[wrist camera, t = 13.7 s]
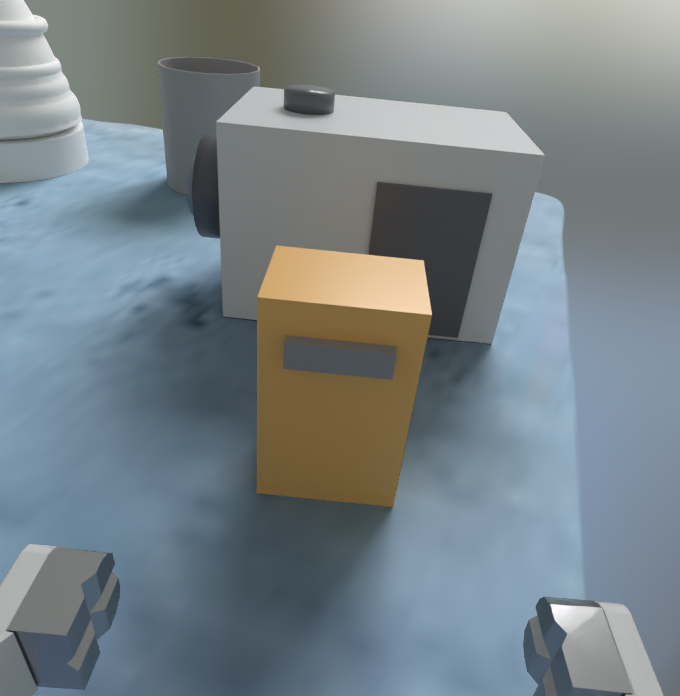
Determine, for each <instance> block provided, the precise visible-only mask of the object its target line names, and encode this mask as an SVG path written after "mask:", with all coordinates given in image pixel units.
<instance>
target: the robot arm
mask: <svg viewBox="0 0 680 696" xmlns="http://www.w3.org/2000/svg"><path fill="white" fill-rule="evenodd" d="M114 565H115V561H114V558H113V554H112V553H107V552H98V551H88V550H79V549H70V548H61V547H56V546H45V545H35V544H29V545H28V546H27V547H26V548H25V549H24V550H23V551H22V552H21V553H20V554H19V556H18V557H17V559H16V561H15V562H14V564H13V565H12V567H11V569H10V570H9V572H8V574H7V575H6V577H5V578H4V580H3V582H2V583H1V585H0V696H32V695H33V694H34V693H35V692H36V691H37V689H38V688H37V686H38V687H52V688H65V689H79V690H85V688H86V686H87V684H88V681H89V679H90V676H91V674H92V671H93V669H94V667H95V664H96V662H97V659H98V657H99V654H100V650H99V646H98V643H97V639H98V638H99V637H101V636H102V635H103V634H104V633H105V632H107V631H108V630H109V629H110V627H111V625H112V622H113V620H114V617H115V614H116V611H117V606H118V602H119V598H120V584H119V579H118V577H117V576H115V575H114V574H113V573H112V570H113V568H114ZM536 611H537V616H536V617H534V618H532V619H530V620H529V621H528V623H527V626H526V628H525V631H524V642H523V647H524V658H525V663H526V668H527V672H528V673H529V674H530V675H531V677H532V678H533V679H534V680H535V681H536V683H537V684H538V686H537V688H536V691H535V693H534V695H533V696H663V693H662V691H661V688H660V685H659V683H658V681H657V678H656V675H655V673H654V671H653V668H652V665H651V663H650V661H649V658H648V655H647V653H646V651H645V648H644V646H643V643H642V641H641V638H640V636H639V633H638V631H637V628H636V626H635V623H634V621H633V618H632V616H631V613H630V611H629V610H628V609H627V608H626V606H624V605H622V604H615V603H604V602H595V601H590V600H578V599H566V598H554V597H543V598H540V599H539V601H538V603H537V605H536Z"/></svg>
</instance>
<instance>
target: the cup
mask: <svg viewBox="0 0 680 696" xmlns="http://www.w3.org/2000/svg"><path fill="white" fill-rule="evenodd" d="M158 76H159V87H160V99H161V110H162V122H163V134H164V146H165V158H166V169H167V181H168V186H170V187H171V188H172V189H173V190H174V191H175V192H178V193H181V194H184V195H188V173H189V167H190V163H191V160H192V158H193V156H194V155H196V151H197V147H198V144H199V142H200V140H201V138H202V136H203V135H205V134H212V135H216V121H217V120H218V119H220V118H221V117H222V116H223V115H224V114H225V113H226V112H227V111H228V110H229V109H230V108H231V107H232V106H233V105H234V104H236V103H237V102H238V101H239V100H240V99H241V98H242V97H243V96H244V95H245V94H246V93H247V92H248V91H249V90H250V89H252V88H253V87H260V69H259V67H258V66H255V65H253V64H250V63H245V62H240V61H235V60H227V59H218V58H202V57H179V58H168V59H163V60H160V61H159V62H158Z"/></svg>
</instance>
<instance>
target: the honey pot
mask: <svg viewBox="0 0 680 696" xmlns="http://www.w3.org/2000/svg"><path fill="white" fill-rule="evenodd" d="M47 29H48V24H47V22H46V20H45V19H44V18H42V17H40V16H37V15H32V13H31V12H30V10H29V8H28V7H27V5H26V3H25V2H24V0H0V183H10V182H28V181H35V180H43V179H49V178H54V177H58V176H63V175H66V174H69V173H72V172H75V171H77V170H79V169H81V168H82V167H84V166H85V165H86V164H87V162H88V161H89V158H88V152H87V145H86V139H85V133H84V127H83V124H82V122H81V120H82V117H81V114H80V106H79V103H78V100H77V97H76V96H75V95H74V94H73V93H72V92H71V91H70V89H69V84H68V81H67V78H66V77H65V76H64V74H63V73H62V71H61V65H60V62H59V60H58V59H56V58H55V57H54V55H53V53H52V51H51V49H50V47H49V45H48V43H47V41H46V39H45V37H44V35H43V32H45V31H47Z"/></svg>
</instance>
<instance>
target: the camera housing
mask: <svg viewBox="0 0 680 696" xmlns="http://www.w3.org/2000/svg"><path fill="white" fill-rule="evenodd" d="M544 157H545V155H544V154H543V153H542V152H541V150H540V149H539V148H538V147H537V146H536V145H535V144H534V143H533V142H532V140H531V139H530V138H529V137H528V136H527V135H526V134H525V133H524V132H523V130H522V129H521V128H520V127H519V126H518V125H517V124H516V123H515V122H514V121H513V119H512V118H511V117H510V116H509V115H508V114H507V113H506V112H499V111H489V110H479V109H469V108H459V107H450V106H440V105H430V104H420V103H411V102H401V101H390V100H381V99H371V98H362V97H352V96H342V95H335V91H334V90H332V89H329V88H325V87H320V86H313V85H289V86H285V87H284V90H282V89H273V88H263V87H253V88H252V89H250V90H249V91H248V92H247V93H246V94H245V95H244V96H243V97H242V98H241V99H240V100H239V101H238V102H237V103H236V104H234V105H233V106H232V107H231V108H230V109H229V110H228V111H227V112H226V113H225V114H224V115H223V116H222V117H221V118H220V119H218V120H217V121H216V135H212V134H205V135H203V136H202V138H201V140H200V142H199V144H198V147H197V151H196V155H194V156H193V158H192V160H191V163H190V167H189V173H188V202H189V207H190V211H191V213H192V215H194V220H195V225H196V228H197V231H198V233H199V234H200V235H201V236H202V237H211V238H220V247H221V274H222V302H223V317H231V318H241V319H251V320H257V297H258V294H259V291H260V288H261V286H262V283H263V280H264V278H265V275H266V272H267V270H268V267H269V264H270V261H271V259H272V256H273V253H274V251H275V248H276V245H277V246H287V247H296V248H306V249H316V250H326V251H336V252H346V253H355V254H365V255H375V256H385V257H395V258H404V259H414V260H424V266H425V273H426V279H427V285H428V292H429V298H430V305H431V311H432V318H431V323H430V328H429V333H428V338H438V339H448V340H458V341H468V342H477V343H487V344H492V341H493V338H494V334H495V331H496V327H497V324H498V320H499V317H500V313H501V309H502V306H503V302H504V299H505V295H506V292H507V288H508V285H509V281H510V278H511V274H512V270H513V267H514V263H515V260H516V256H517V253H518V249H519V246H520V242H521V239H522V235H523V231H524V228H525V224H526V221H527V217H528V214H529V210H530V207H531V203H532V200H533V196H534V192H535V189H536V185H537V182H538V178H539V175H540V171H541V167H542V164H543V160H544Z"/></svg>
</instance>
